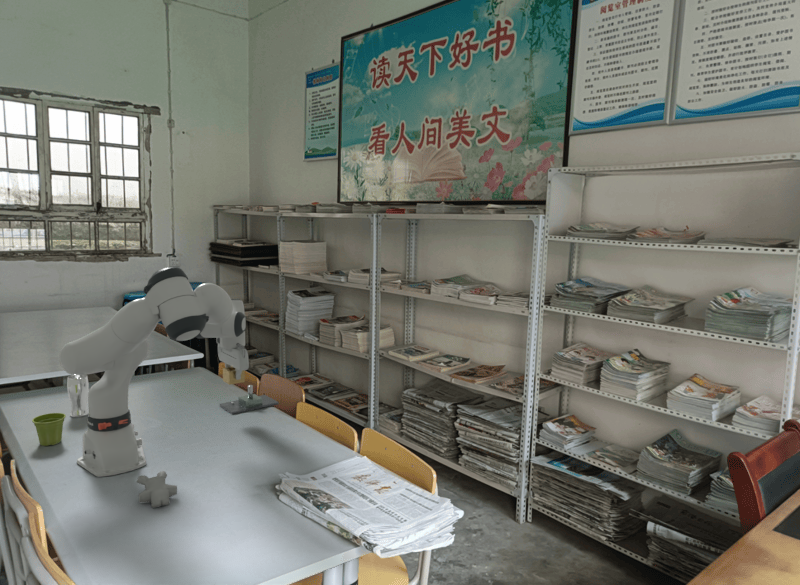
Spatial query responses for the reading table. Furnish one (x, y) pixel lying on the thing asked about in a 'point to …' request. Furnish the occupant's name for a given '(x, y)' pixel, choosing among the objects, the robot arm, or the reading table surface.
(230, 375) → the tan square sleeve
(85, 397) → the beer glass
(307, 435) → the reading table surface
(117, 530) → the reading table surface
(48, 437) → the plant pot
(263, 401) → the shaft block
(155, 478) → the grey chunky knobbed piece
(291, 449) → the reading table surface
